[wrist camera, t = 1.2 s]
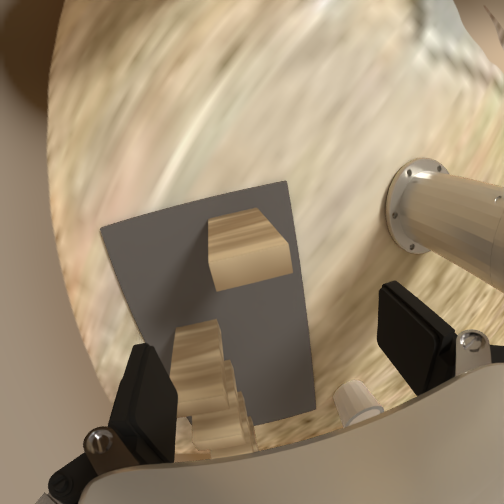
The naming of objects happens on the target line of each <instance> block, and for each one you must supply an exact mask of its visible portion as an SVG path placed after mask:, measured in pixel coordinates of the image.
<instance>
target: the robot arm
mask: <svg viewBox="0 0 504 504" xmlns="http://www.w3.org/2000/svg"><path fill="white" fill-rule="evenodd" d="M386 221H387V226H388V229H389V232H390V235H391V236H392V238H393V240H394V241H395V242H396V244H397V245H398V246H399V247H401V248H402V249H404V250H406V251H408V252H409V253H414V254H423V253H426V252H429V251H433V252H435V253H437V254H438V255H440V256H442V257H444V258H446V259H447V260H449V261H451V262H453V263H454V264H456V265H458V266H460V267H461V268H463V269H465V270H466V271H468V272H470V273H471V274H473V275H475V276H476V277H478V278H480V279H481V280H483V281H485V282H486V283H488V284H489V285H491V286H493V287H494V288H496V289H498V290H499V291H501V292H502V293H504V187H501V186H497V185H493V184H490V183H486V182H481V181H477V180H473V179H468V178H464V177H459V176H455V175H450V174H449V172H448V171H447V169H446V168H445V167H444V166H443V165H442V164H441V163H439V162H437V161H436V160H433V159H429V158H417V159H414V160H411V161H409V162H408V163H406V164H405V165H404V166H403V167H402V168H401V169H400V170H399V171H398V172H397V174H396V176H395V177H394V179H393V181H392V183H391V185H390V188H389V191H388V195H387V200H386ZM377 342H378V345H379V347H380V348H381V349H382V351H383V352H384V353H385V355H386V356H387V357H388V358H389V360H390V361H391V362H392V364H393V365H394V366H395V368H396V369H397V370H398V371H399V373H400V374H401V375H402V377H403V378H404V379H405V381H406V382H407V383H408V385H409V386H410V387H411V389H412V390H413V391H414V393H415V394H416V395H417V397H415V398H413V399H411V400H409V401H407V402H405V403H403V404H401V405H398V406H396V407H394V408H392V409H390V410H387V411H385V412H383V413H380V414H378V415H376V416H373V417H371V418H368V419H366V420H363V421H361V422H358V423H355V424H353V425H350V426H347V427H344V428H341V429H339V430H336V431H333V432H330V433H327V434H323V435H320V436H317V437H314V438H310V439H307V440H303V441H300V442H296V443H292V444H288V445H284V446H280V447H276V448H271V449H267V450H262V451H257V452H252V453H247V454H241V455H235V456H229V457H222V458H215V459H206V460H199V461H188V462H177V463H174V455H175V436H176V420H177V407H178V393H177V390H176V388H175V386H174V385H173V383H172V381H171V379H170V377H169V375H168V373H167V372H166V370H165V368H164V366H163V364H162V362H161V360H160V358H159V356H158V354H157V352H156V350H155V348H154V346H150V345H149V344H148V343H143V344H137V345H134V346H133V348H132V351H131V354H130V357H129V360H128V363H127V366H126V370H125V373H124V376H123V379H122V380H121V382H120V385H119V388H118V392H117V395H116V398H115V402H114V405H113V409H112V412H111V416H110V420H109V423H108V427H104V426H102V427H97V428H95V429H93V430H91V431H90V432H89V433H88V434H87V436H86V437H85V439H84V442H83V448H84V451H85V452H84V453H83V454H81V455H80V456H79V457H77V458H76V459H74V460H73V461H71V462H70V463H68V464H67V465H66V466H64V467H63V468H61V469H60V470H58V471H57V472H55V473H54V474H53V475H52V476H51V478H50V479H49V483H48V489H49V493H48V494H46V493H44V494H43V495H42V496H41V497H40V499H39V500H38V501H37V502H36V503H35V504H504V346H497V345H490V344H489V340H488V338H487V336H486V335H485V334H483V333H482V332H480V331H477V330H465V331H463V332H461V333H460V334H459V335H457V334H456V333H455V330H454V329H453V328H452V327H451V326H450V325H449V324H447V323H446V322H445V321H444V320H443V319H442V318H441V317H439V316H438V315H437V314H436V313H435V312H434V311H432V310H431V309H430V308H429V307H428V306H426V305H425V304H424V303H423V302H422V301H420V300H419V299H418V298H417V297H416V296H414V295H413V294H412V293H411V292H410V291H408V290H407V289H406V288H405V287H403V286H402V285H401V284H400V283H398V282H397V281H392V282H389V283H386V284H383V285H382V288H381V289H380V290H379V307H378V329H377Z"/></svg>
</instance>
